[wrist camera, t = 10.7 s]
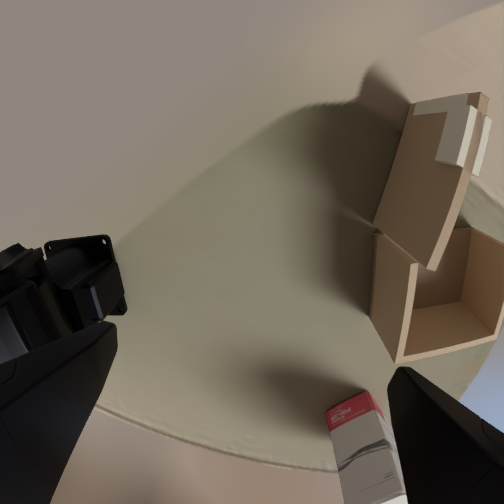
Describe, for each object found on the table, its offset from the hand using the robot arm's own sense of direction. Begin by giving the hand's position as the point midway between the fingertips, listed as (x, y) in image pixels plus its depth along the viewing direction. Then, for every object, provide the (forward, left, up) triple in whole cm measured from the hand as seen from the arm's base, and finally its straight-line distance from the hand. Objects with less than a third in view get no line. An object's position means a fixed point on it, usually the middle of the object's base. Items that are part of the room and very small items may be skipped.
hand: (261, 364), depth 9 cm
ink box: (+9, -20, -13) cm, 26 cm away
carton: (+12, -4, -13) cm, 18 cm away
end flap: (+10, +4, -13) cm, 17 cm away
